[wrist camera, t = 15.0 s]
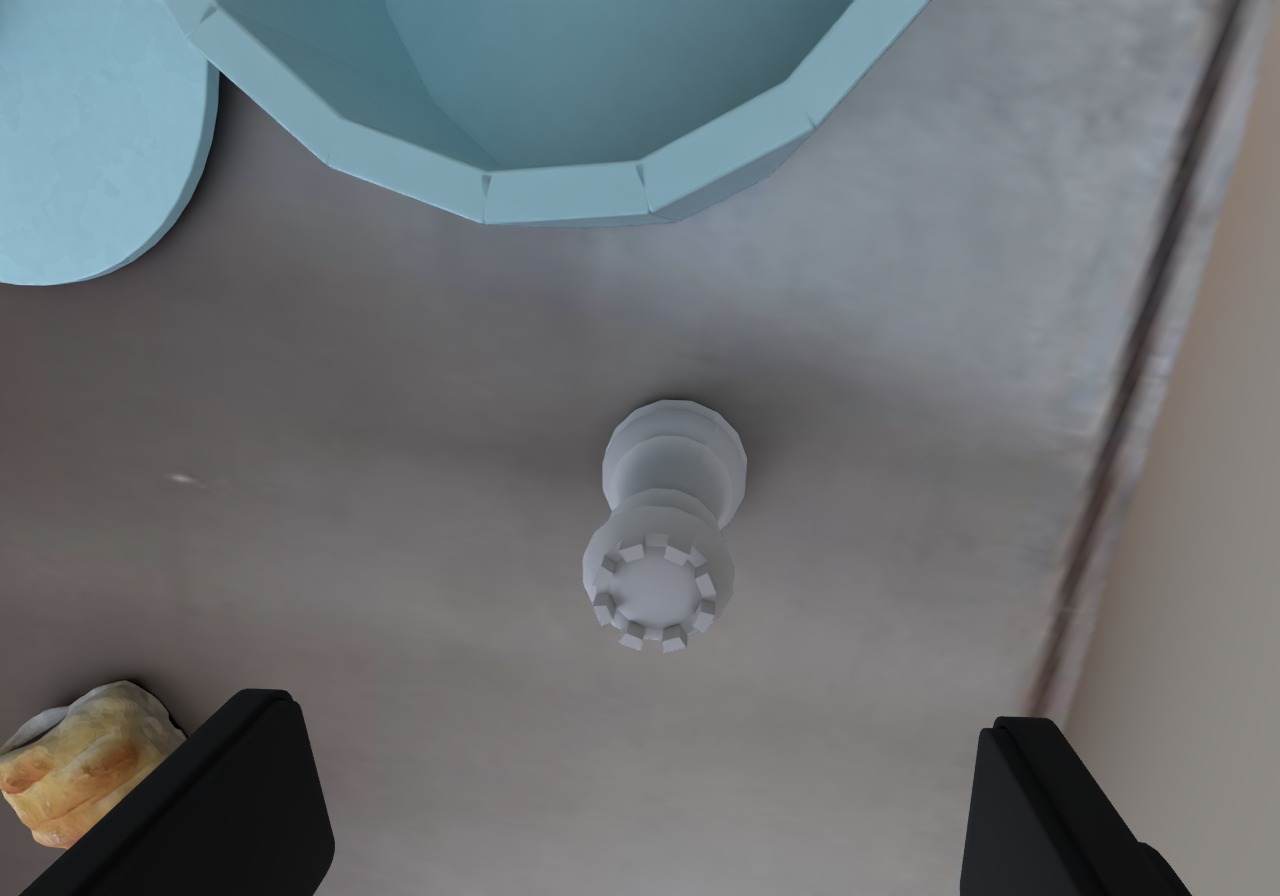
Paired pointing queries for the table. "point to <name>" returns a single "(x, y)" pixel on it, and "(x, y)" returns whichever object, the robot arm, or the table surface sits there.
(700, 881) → the table surface
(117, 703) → the pastry
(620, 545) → the rook chess piece
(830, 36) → the pot
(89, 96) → the pot lid
